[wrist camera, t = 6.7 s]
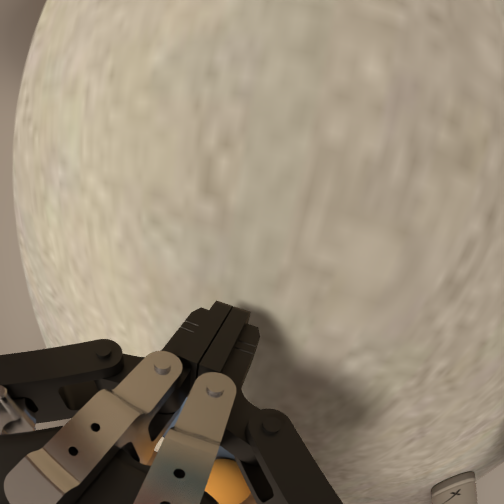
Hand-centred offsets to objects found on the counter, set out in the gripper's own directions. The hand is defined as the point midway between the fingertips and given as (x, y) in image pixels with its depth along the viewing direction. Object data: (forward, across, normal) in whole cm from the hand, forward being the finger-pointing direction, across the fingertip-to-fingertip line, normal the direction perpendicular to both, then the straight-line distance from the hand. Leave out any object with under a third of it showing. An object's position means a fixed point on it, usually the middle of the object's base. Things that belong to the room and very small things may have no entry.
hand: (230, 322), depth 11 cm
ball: (-1, -3, +20) cm, 20 cm away
